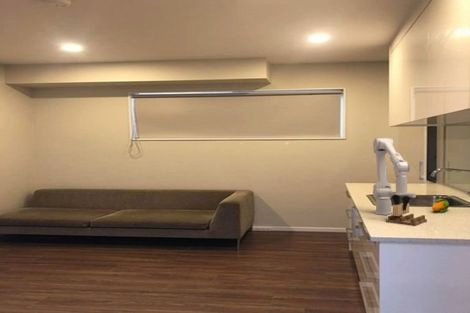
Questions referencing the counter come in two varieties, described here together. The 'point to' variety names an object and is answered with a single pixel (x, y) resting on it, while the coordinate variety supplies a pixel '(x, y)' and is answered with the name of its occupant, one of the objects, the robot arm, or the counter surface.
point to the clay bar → (400, 209)
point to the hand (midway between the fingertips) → (401, 209)
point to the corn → (440, 205)
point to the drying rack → (407, 219)
